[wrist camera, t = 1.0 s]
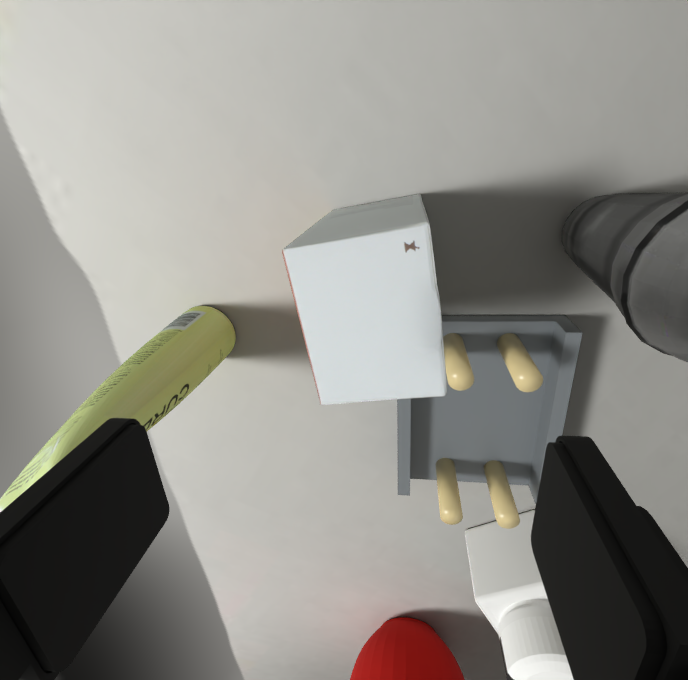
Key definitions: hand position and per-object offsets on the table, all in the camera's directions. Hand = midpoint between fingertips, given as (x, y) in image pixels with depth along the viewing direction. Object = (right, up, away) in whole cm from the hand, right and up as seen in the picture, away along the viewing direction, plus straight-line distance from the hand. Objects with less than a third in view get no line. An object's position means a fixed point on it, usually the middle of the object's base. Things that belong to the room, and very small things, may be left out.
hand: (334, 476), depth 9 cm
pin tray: (+11, -2, +24) cm, 26 cm away
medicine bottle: (+17, -16, +30) cm, 38 cm away
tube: (-11, +4, +25) cm, 28 cm away
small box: (+3, +9, +20) cm, 22 cm away
